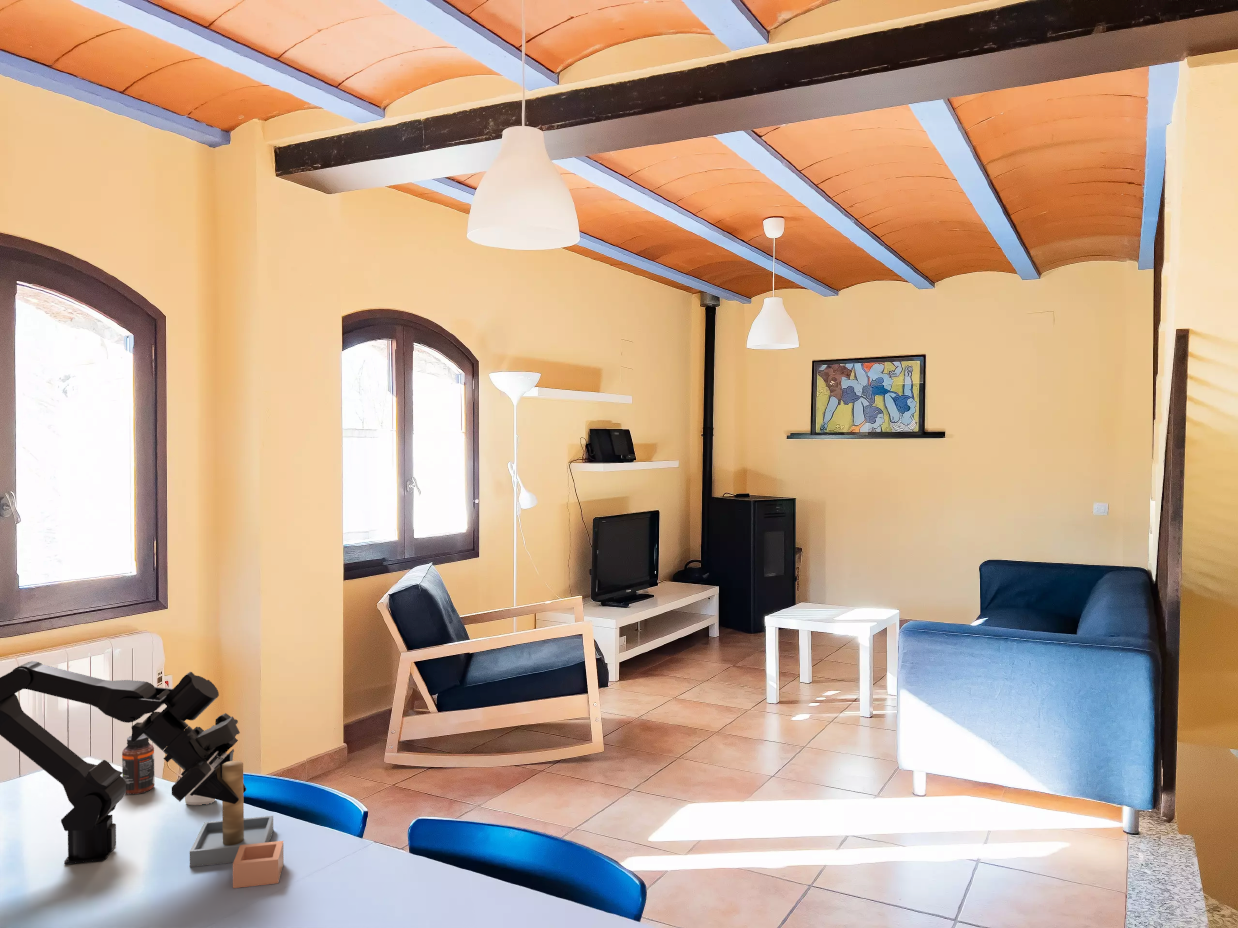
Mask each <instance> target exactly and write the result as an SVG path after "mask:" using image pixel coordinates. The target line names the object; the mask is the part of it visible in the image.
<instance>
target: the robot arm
mask: <svg viewBox="0 0 1238 928" xmlns="http://www.w3.org/2000/svg"><path fill="white" fill-rule="evenodd" d="M22 690H29V691H32V692H36V693H41V694H46V695H49V696H53V697H58V698H60V699H61V698H62V699H65V700H69V701H72V702H77V703H82V704H86V705H90V706H92V707H94V708H96V709H98V710H99V711H101V713H103V714H104V715H105V716H107V717H110V718H112V719H114V720H117V721H119V722H122V723H125V724H126V723H133V722H135V721H137V720H139V719H141V718H142V717H144V716H145V715H147V714H149V715H148V716H147V717H146V718H145V719H144V720H143V721H142V722H136V723H134V724H133V725H131V735H130V736H131V741H132V742H135V741H136V740H138V739H139V738H140V737H141V736H142V735H145V736H146V737H147V738H149V741H151V742H152V743H153V745H155V746H157V748H159V750H161V751H162V752H163V753H164V754H165V756H164V757H163V760H164V761H166V763H169V762H170V761H171V760H172V761H173V762H174V763H175V764H176V765H178V767H180V768H181V769H182V770H183V771H182V772H181V773H180V775H181V777H180V778H179V779H178V780H177V781H176V782H175V783H174V784H173V785H172V786H171V796H172V797H174V798H175V799H176V800H177V801H178V802H180V803H181V801H183V800H184V799H185V796H186V795H187V794H188V793H189V792H190V791H191V790H192V789H193V788H195V789H194V790H193V791H192V792H191V794H190V795H191V796H193V795H197V796H203V797H208V798H212V799H216V800H217V801H221V802H222V801H224V802H228V803H232V804H235V803H237V802H238V801H239V798H238V796H237V795H236V794H235V792H234V791H233V790H232V789H231V788H230V787H229V785H228V784H227V783H226V782H225V781H224V780H223V779H222V765H223V764H224V763H226V762H229V761H234V760H233V759H234V752H235V750H234V748H233V749H231V748H232V747H234V745H236V743H237V742H238V741H239V740H238V739H237V738H236V736H237V735H239V734H241V732H240V729H239V728H238V726H237V725H238V724H239V721H238V720H237V719H236V718H234V716H231V715H229V714H228V713H226V712H225V713H223V714H220V715H218V716H217V718H216V719H215V722H214V723H215V725H212V726H211V727H210V728H207V729H203V728H202V727H200V726H196V727H194V728H193V727H191V726H190V725H189V724H188V723H187V722H186V721H194V720H196V719H197V718H198V717H200V715H201V714H202V713H204V711H205V710H206V709H207V708H208V707H209V706H211V705H212V703H214V701H215V700H217V699H218V697H219V696H220V693H219V690H218V688H217V687H216V685H215V684H214V683H213V682H212V681H211V680H209V679H206V678H205V677H202V676H201V675H195V673H193V671H189V672H187V673H186V674H185V675H184V676H183V677H182V678H181V679H180V680H179V682H178V683H177V684H176V685H175V686H174V687H173V688H169V687H168V688H167V687H160V686H159V687H158V686H154V684H152V683H151V682H149V681H144V680H143V681H142V680H134V679H133V680H131V679H121V680H110V679H109V680H107V679H102V678H98V677H95V676H94V677H93V676H90V675H86V674H82V673H78V672H73V671H70V670H67V669H63V668H57V667H53V666H50V665H46V664H42V663H41V662H40V661H33V660H31V661H27V662H24V663H23V664H21V665H19V666H16V667H15V668H13V669H12V670H11V671H10V672H8V673H6V674H4V675H2V676H0V736H1V738H3V739H5V740H6V741H7V742H8V743H9V744H11V746H13V747H14V748H16V750H18V751H20V752H21V753H22V754H23V755H24V756H26V757H27V758H28V759H29V760H31V761H32V762H33V763H34V764H36V765H37V766H38V767H39V768H40V769H42V770H44V771H45V772H46V773H47V774H48V775H50V776H51V777H52V778H53V779H55V780H56V781H57V782H58V783H60V785H62V787H63V790H64V792H65V794H66V795H65V796H66V797H67V799H68V802H69V803H70V804H71V805H72V809H71V810H69V812H67V813H66V815H64V816H63V817H62V818H60V819H61V820H60V823H61V825H62V828H63V829H64V831H65V832H67V857H66V858H65V860H64V861H63V862H64V865H71V864H83V863H91V862H101V861H105V860H107V859H108V857H109V856H110V854H112V852H113V850H114V849H115V848H116V846H117V824H116V823H113V814H111V812H113V811H114V810H115V809H116V806H117V805H118V803H119V802H121V801H122V800H123V799H124V797H125V795H126V794H127V793H126V782H125V780H124V779H123V777H122V776H123V775H122V771H120V770H117V769H116V768H114V767H113V766H112V765H111V763H110V762H109V761H108V760H106V759H103V760H101V761H100V762H99V763H97V764H94V763H90V762H87V761H86V760H84V759H83V758H81V756H79V755H78V754H77V753H75V752H74V751H73V750H72V749H70V748H69V747H68V746H67V745H66V744H64V743H63V742H62V741H60V740H59V739H58V738H56V737H55V736H54V735H53V734H52V733H50V732H49V731H48V730H47V729H45V728H44V727H43V726H42V725H41V724H39V723H38V722H37V721H35V720H34V719H33V718H32V717H30V716H29V715H28V714H27V713H26V712H24V710H23V709H22V706H21V703H20V701H19V698H18V696H17V694H16V693H18V692H20V691H22ZM163 705H165V706H166V707H165V708H163V710H161V711H157V710H159V709H160V708H161V707H162V706H163ZM230 749H231V751H230ZM228 751H230V752H229V753H228ZM246 792H247V787H246V785H245V783H244V782H243V794H244V793H246Z"/></svg>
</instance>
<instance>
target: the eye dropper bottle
mask: <svg viewBox="0 0 1238 928" xmlns="http://www.w3.org/2000/svg"><path fill="white" fill-rule="evenodd" d="M194 789H195V788H193V789H192V790H191V791H190V792H189V793H188V794H187V795H186V796H185V797H184V799H185V800H184V801H185V802H184V803H185V804H186V805H189V806H203V805H202V804H206V805H210V804H209V803H211V804H213V803H214V802H215V801H216V800H215V799H212V798H208V797H203V796H197V795H193V796H191V795H190V794H191V792H192V791H193V790H194ZM212 802H213V803H212Z"/></svg>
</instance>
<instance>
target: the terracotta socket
mask: <svg viewBox="0 0 1238 928" xmlns="http://www.w3.org/2000/svg"><path fill="white" fill-rule="evenodd" d="M284 861H285V860H284V840H279V841H278V840H277V841H270V842H267V843H257V844H247V845H240V847H239V849H238V852H237V855H236V857H235V860H234V862H233V863H232V889H238V888H246V887H247V888H249V887H255V886H265V885H273V884H274V885H275V884H279V882H280V878H281V874H282V870H283V868H284V867H283V866H284V864H285V863H284Z"/></svg>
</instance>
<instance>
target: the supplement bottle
mask: <svg viewBox="0 0 1238 928" xmlns="http://www.w3.org/2000/svg"><path fill="white" fill-rule="evenodd" d="M131 736H132V735H130V736H128V737H127V738H126V746H125V747H124V748H123V750H122V752H121V757H122V758H121V765H122V766H121V769H122V771H121V772H122V774H121V776H122V777H123V779H124V780H125V782H126V793H125V794H126V795H138V794H143V793H147V792H149V791H150V790H152V789H153V788H154V787H155V783H156V782H155V779H156V778H155V747H154V744H152V743H150V742H149V741H150V739H149V738H147V737H146V736H145V735H142V736H141V737H140V738H139V739H138V740H136V741H135V742H132V741H131Z"/></svg>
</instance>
